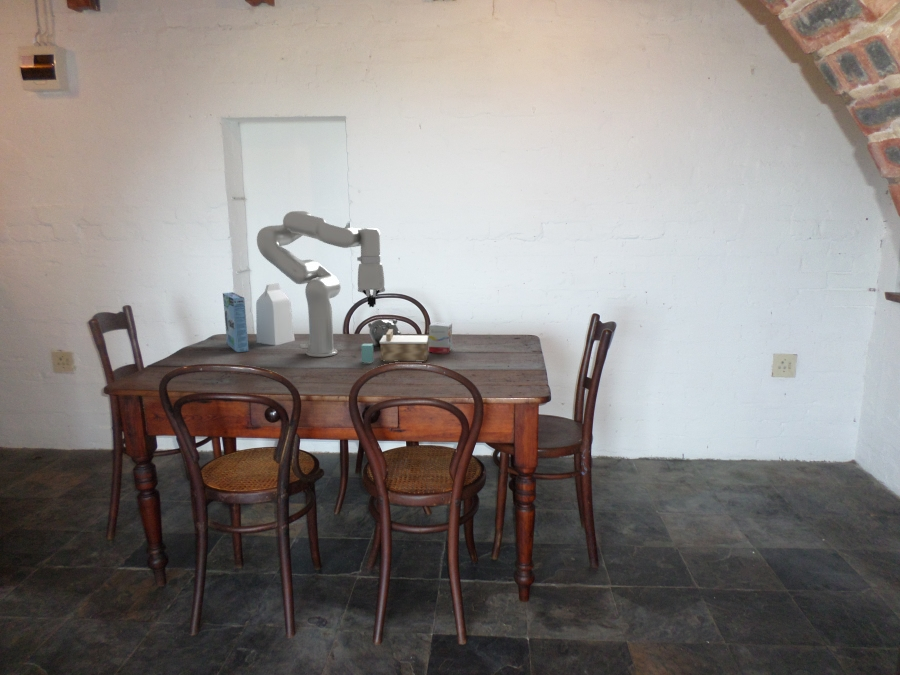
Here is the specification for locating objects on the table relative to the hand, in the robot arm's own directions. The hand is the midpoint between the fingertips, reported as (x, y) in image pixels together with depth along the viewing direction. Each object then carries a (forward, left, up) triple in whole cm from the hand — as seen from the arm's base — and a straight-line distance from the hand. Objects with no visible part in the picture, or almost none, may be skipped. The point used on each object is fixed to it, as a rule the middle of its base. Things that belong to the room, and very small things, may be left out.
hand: (371, 306), depth 251 cm
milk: (-48, +29, -21) cm, 60 cm away
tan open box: (+13, 0, -21) cm, 25 cm away
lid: (+13, 0, -14) cm, 19 cm away
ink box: (+27, +13, -21) cm, 37 cm away
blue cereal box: (-61, +16, -21) cm, 67 cm away
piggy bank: (+2, +23, -21) cm, 31 cm away
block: (-1, -7, -21) cm, 22 cm away
